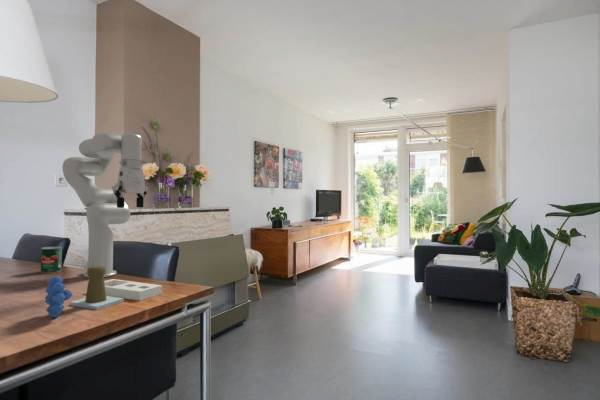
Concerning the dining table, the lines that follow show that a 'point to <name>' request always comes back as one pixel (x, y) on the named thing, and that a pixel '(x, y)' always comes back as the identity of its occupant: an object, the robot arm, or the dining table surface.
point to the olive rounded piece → (96, 285)
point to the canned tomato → (51, 259)
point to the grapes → (56, 296)
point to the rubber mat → (98, 305)
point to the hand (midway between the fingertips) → (130, 207)
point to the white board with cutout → (131, 289)
